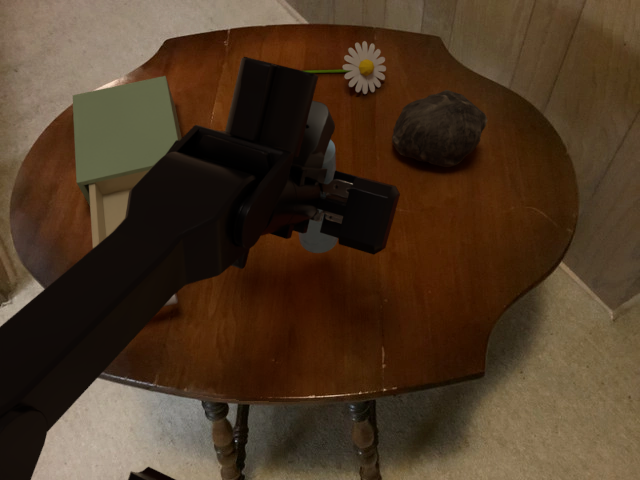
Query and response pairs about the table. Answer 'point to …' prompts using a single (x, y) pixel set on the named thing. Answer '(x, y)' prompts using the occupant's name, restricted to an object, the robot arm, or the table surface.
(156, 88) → the cabinet
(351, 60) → the decorative flower
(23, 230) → the table surface
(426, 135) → the rock
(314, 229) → the canister
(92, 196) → the drawer
